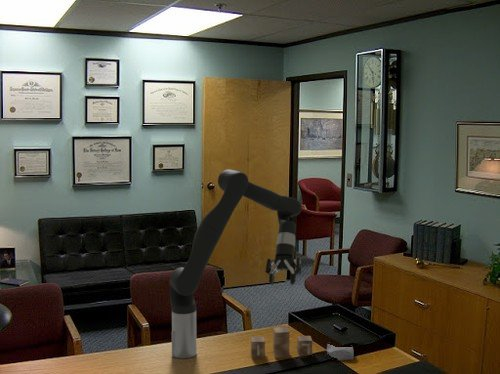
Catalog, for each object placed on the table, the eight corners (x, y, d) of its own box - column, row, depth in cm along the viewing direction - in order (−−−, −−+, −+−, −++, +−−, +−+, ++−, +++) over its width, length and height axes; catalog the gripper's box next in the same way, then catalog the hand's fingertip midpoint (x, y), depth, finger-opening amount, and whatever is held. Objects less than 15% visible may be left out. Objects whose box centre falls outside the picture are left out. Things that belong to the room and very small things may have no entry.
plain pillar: (274, 358, 217) (274, 332, 216) (273, 352, 223) (273, 327, 222) (289, 357, 218) (289, 332, 217) (287, 352, 223) (287, 327, 222)
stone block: (329, 365, 216) (356, 360, 216) (327, 352, 216) (353, 347, 215) (326, 353, 228) (351, 349, 227) (324, 342, 228) (349, 337, 227)
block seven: (299, 357, 218) (299, 341, 217) (297, 352, 223) (297, 336, 223) (312, 357, 218) (312, 340, 218) (309, 352, 223) (310, 335, 223)
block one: (251, 358, 217) (251, 342, 216) (250, 353, 222) (250, 337, 221) (264, 358, 217) (264, 341, 217) (263, 353, 222) (263, 336, 222)
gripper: (266, 242, 233) (261, 281, 226) (299, 241, 228) (295, 281, 221) (272, 249, 239) (268, 287, 233) (305, 248, 234) (302, 287, 227)
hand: (281, 284), depth 227 cm, fingers open, 8 cm apart
